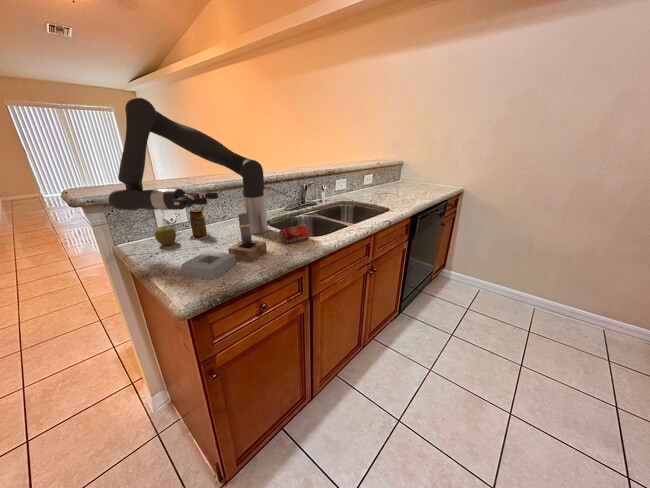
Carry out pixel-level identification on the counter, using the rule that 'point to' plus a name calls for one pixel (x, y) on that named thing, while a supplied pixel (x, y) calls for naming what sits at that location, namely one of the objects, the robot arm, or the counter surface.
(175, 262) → the counter surface
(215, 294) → the counter surface
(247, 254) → the brown hollow square block
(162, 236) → the apple
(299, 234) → the beverage can
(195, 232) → the condiment
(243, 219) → the gray banded bar
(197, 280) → the counter surface
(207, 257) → the socket
